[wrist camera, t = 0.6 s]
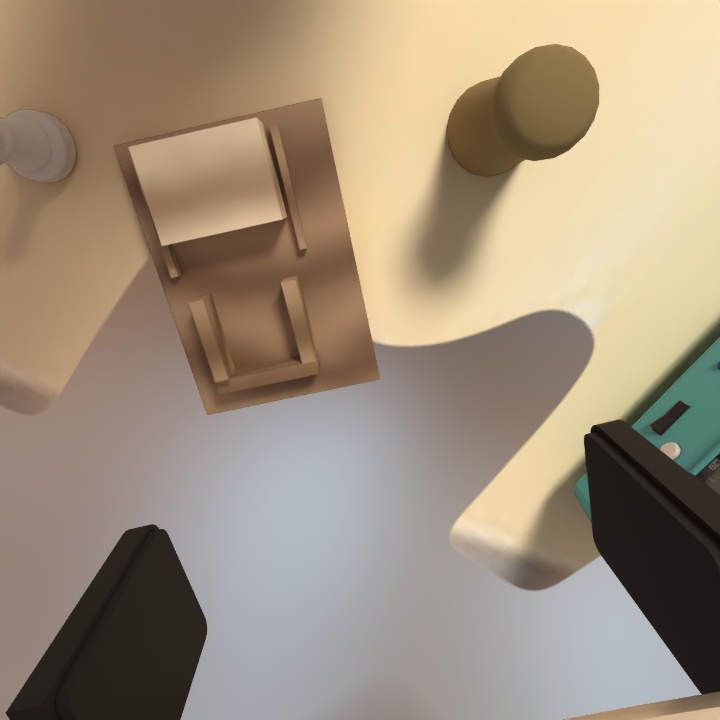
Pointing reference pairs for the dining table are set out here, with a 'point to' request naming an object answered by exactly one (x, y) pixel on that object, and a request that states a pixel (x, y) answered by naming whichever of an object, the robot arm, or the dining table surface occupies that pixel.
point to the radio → (684, 423)
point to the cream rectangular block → (209, 181)
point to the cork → (525, 111)
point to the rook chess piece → (36, 145)
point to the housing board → (269, 279)
